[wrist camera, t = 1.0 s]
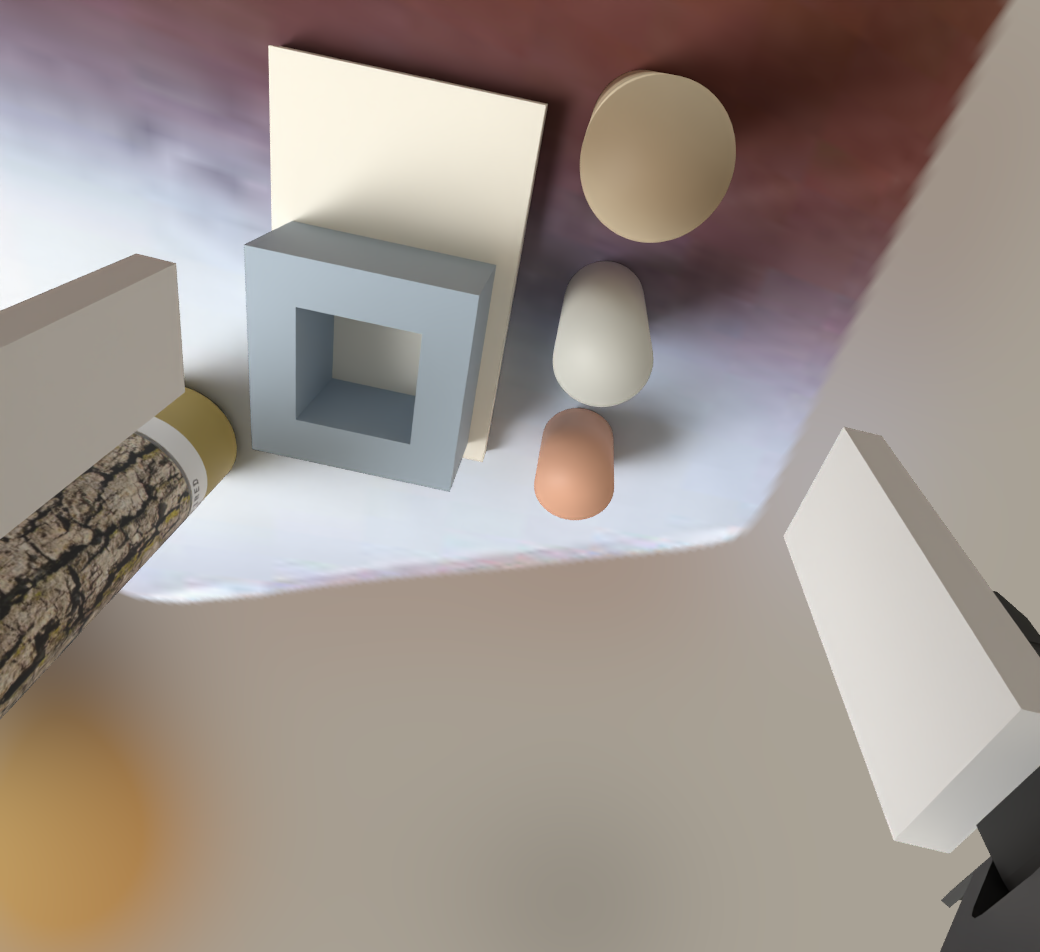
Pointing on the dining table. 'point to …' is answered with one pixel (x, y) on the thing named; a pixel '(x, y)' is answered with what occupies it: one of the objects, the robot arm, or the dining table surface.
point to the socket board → (405, 187)
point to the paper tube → (103, 534)
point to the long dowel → (656, 156)
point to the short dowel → (575, 465)
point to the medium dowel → (603, 336)
